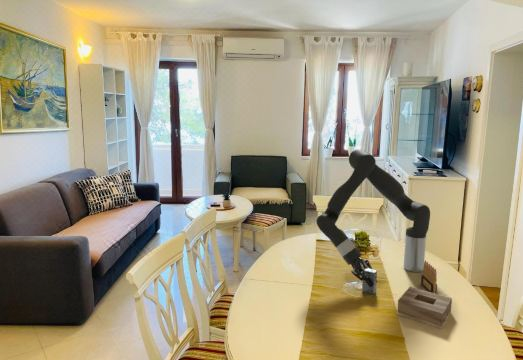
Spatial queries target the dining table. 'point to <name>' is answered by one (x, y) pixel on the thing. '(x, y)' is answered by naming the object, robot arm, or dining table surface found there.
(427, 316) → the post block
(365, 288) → the gray rectangular block
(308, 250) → the dining table surface
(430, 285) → the ammunition clip
